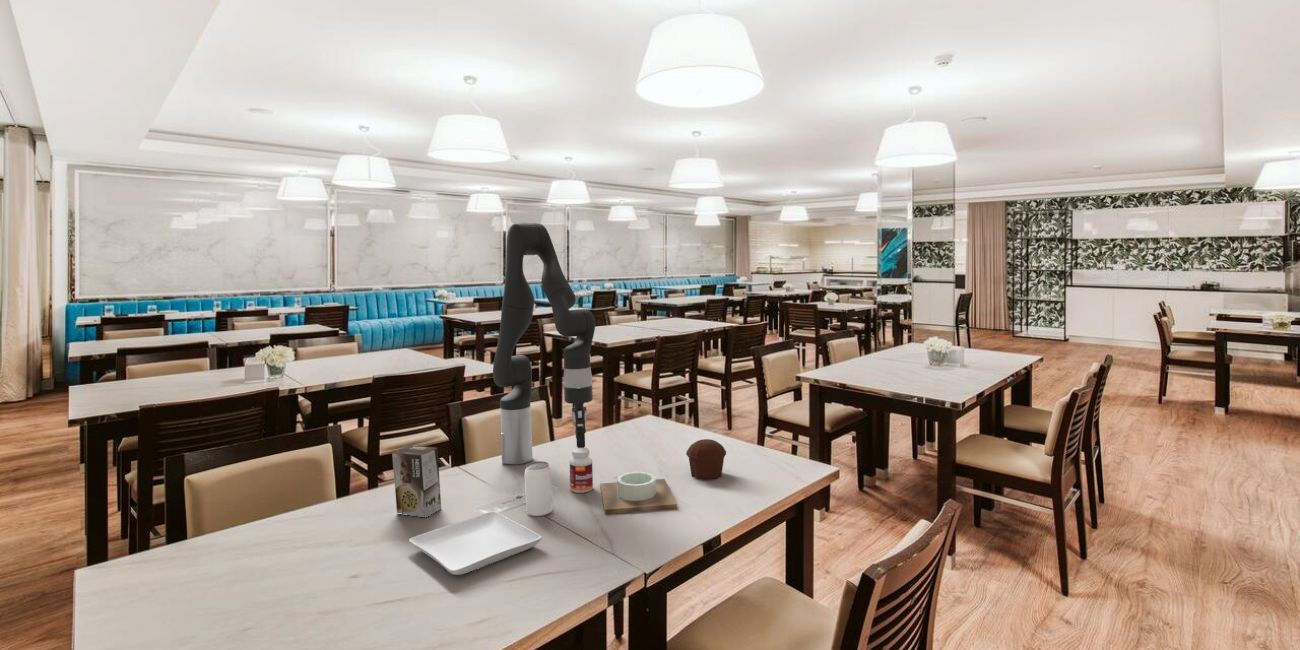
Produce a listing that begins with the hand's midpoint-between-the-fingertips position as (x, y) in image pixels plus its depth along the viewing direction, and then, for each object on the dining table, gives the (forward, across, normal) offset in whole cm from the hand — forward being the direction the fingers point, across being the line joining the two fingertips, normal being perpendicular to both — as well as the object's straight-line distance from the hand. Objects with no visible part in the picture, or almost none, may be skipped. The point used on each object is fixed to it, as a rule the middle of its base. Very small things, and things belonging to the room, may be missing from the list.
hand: (580, 442), depth 163 cm
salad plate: (+14, +31, -24) cm, 41 cm away
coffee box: (+13, +7, -41) cm, 44 cm away
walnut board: (+13, +9, +14) cm, 21 cm away
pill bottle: (+13, 0, 0) cm, 13 cm away
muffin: (+14, -4, +36) cm, 39 cm away
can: (+13, +13, -11) cm, 22 cm away
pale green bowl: (+12, +9, +14) cm, 20 cm away
